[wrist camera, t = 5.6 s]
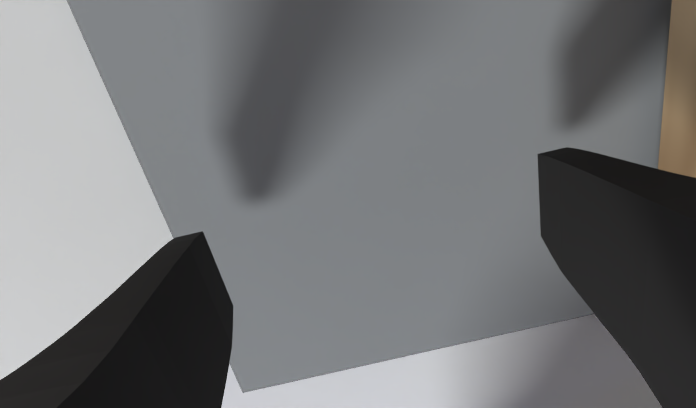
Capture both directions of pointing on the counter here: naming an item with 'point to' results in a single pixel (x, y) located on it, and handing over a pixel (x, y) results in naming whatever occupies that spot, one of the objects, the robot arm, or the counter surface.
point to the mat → (375, 156)
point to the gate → (680, 93)
